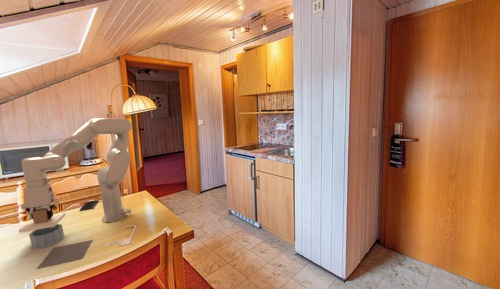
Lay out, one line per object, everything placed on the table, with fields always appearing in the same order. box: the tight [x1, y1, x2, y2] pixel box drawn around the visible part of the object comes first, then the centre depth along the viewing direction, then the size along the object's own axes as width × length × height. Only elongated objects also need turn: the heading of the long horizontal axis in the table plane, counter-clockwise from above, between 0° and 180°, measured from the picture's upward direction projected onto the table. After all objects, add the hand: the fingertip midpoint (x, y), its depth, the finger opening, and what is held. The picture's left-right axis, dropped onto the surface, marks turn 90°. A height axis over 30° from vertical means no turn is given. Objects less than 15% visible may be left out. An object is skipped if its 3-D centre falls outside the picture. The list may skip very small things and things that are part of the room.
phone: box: [79, 199, 99, 212], centre depth 157 cm, size 8×1×15 cm
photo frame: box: [104, 225, 137, 247], centre depth 116 cm, size 15×1×18 cm
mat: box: [36, 239, 94, 270], centre depth 103 cm, size 16×16×1 cm
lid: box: [18, 207, 66, 233], centre depth 111 cm, size 13×13×7 cm
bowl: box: [29, 223, 65, 250], centre depth 113 cm, size 12×12×6 cm
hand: (43, 218), depth 112 cm, fingers closed on lid, 4 cm apart
